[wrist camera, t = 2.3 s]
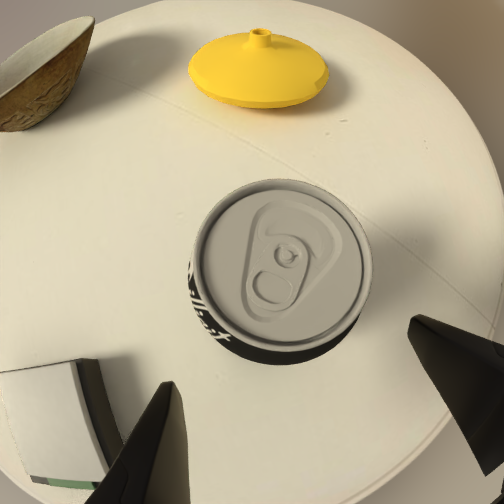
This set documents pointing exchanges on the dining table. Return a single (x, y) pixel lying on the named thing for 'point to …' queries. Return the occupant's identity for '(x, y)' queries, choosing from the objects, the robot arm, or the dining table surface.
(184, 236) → the dining table surface
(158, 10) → the dining table surface
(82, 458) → the scale
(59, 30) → the bowl
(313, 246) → the beverage can
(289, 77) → the vase
